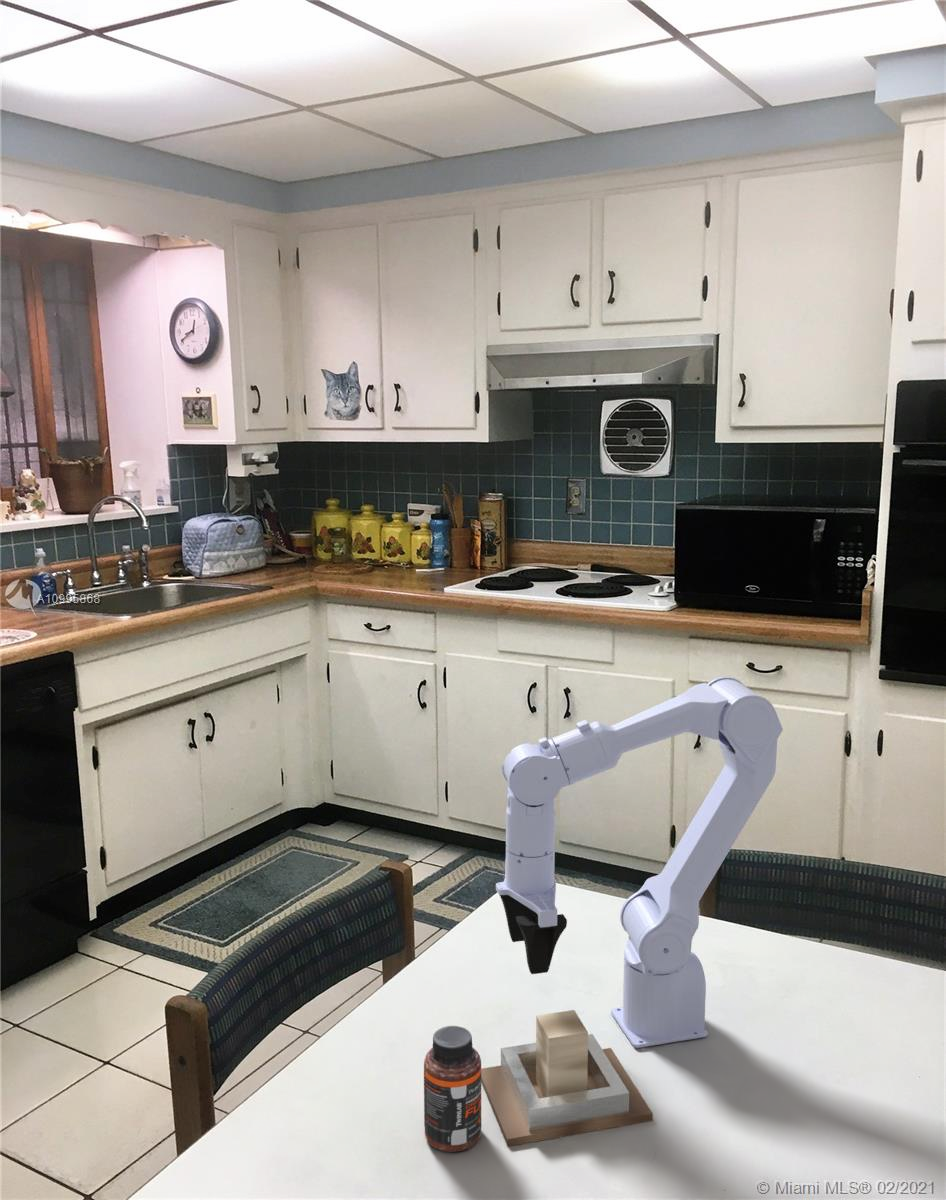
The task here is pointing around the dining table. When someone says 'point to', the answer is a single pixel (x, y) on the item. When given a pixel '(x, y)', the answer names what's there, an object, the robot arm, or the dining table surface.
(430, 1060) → the supplement bottle
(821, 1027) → the dining table surface
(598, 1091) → the collar board
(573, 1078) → the peg
